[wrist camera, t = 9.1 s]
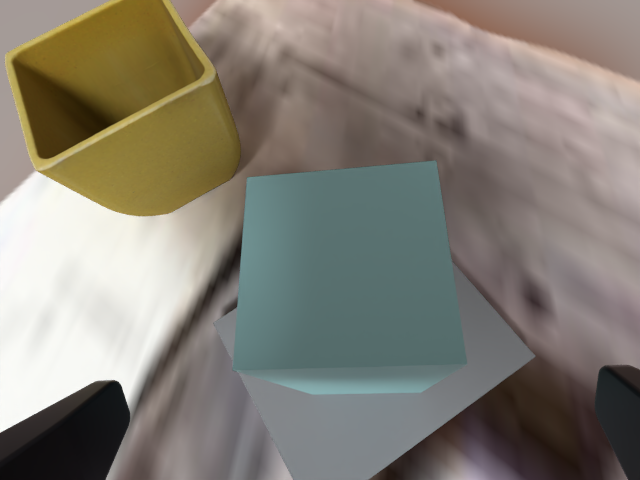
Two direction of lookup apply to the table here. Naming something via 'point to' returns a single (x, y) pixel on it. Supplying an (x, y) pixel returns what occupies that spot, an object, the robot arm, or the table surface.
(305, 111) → the table surface
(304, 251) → the block
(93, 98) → the flower pot
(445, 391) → the coaster
